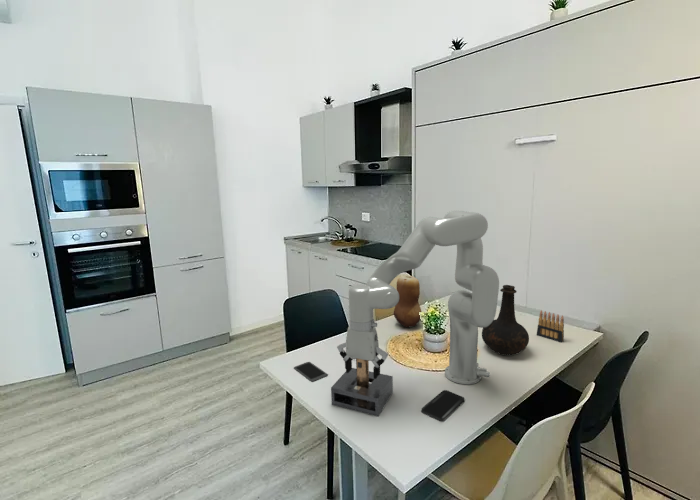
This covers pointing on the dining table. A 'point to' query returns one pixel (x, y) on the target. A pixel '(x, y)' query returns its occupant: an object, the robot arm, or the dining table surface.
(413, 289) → the butternut squash
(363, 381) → the brown long cylinder
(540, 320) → the ammunition clip
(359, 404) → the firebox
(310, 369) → the cell phone
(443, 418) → the phone
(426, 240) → the robot arm
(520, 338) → the glass bottle
